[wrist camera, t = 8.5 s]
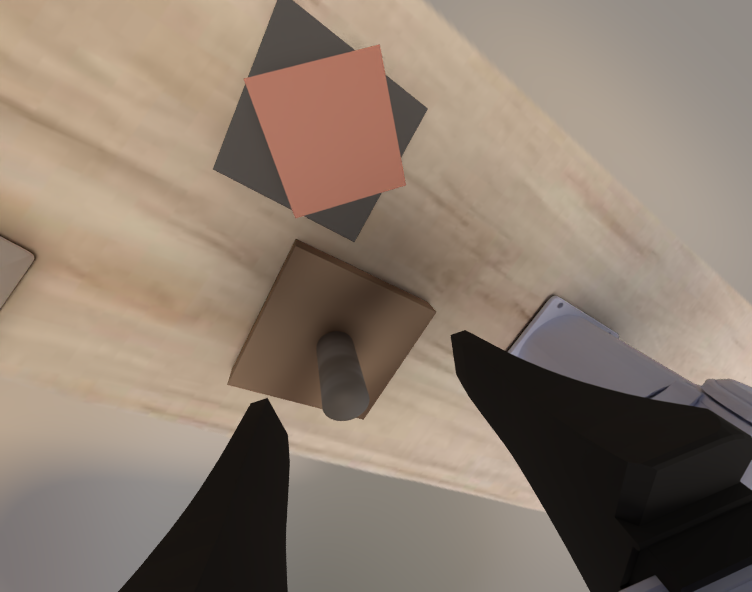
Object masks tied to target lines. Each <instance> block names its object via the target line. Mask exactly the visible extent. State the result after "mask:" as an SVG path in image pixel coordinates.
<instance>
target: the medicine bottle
mask: <svg viewBox="0 0 752 592" xmlns="http://www.w3.org/2000/svg"><path fill="white" fill-rule="evenodd" d="M33 261H34V256H33V254H32V253H31V252H29V251H27V250H25V249H24V248H22V247H20V246H18V245H16V244H14V243H12V242H10V241H8V240H6V239H5V238H3V237H1V236H0V308H1V307H2V305H3V304H4V303H5V301H6V300H7V298H8V297H9V295H10V294H11V292H12V291H13V290H14V288H15V287H16V285H17V284H18V282H19V281H20V279H21V278H22V277H23V275H24V274H25V272H26V271H27V269H28V268H29V266H30V265H31V264H32V262H33Z"/></svg>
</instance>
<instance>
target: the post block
mask: <svg viewBox="0 0 752 592" xmlns="http://www.w3.org/2000/svg"><path fill="white" fill-rule="evenodd" d="M435 313H436V311H435V310H434V309H433V307H432V306H431V305H430V304H429V303H428V302H426V301H424V300H422V299H420V298H418V297H416V296H414V295H412V294H410V293H408V292H406V291H404V290H401V289H399V288H397V287H395V286H393V285H391V284H389V283H387V282H385V281H383V280H381V279H378V278H376V277H374V276H372V275H370V274H368V273H366V272H364V271H362V270H360V269H358V268H356V267H353V266H351V265H349V264H347V263H345V262H343V261H341V260H339V259H337V258H335V257H333V256H330V255H328V254H326V253H324V252H322V251H320V250H318V249H316V248H314V247H312V246H310V245H308V244H305V243H303V242H301V241H299V240H297V239H296V240H295V242H294V244H293V246H292V248H291V250H290V252H289V254H288V256H287V258H286V260H285V262H284V264H283V266H282V268H281V270H280V272H279V274H278V276H277V278H276V280H275V282H274V285H273V287H272V289H271V291H270V293H269V295H268V297H267V299H266V301H265V303H264V305H263V307H262V309H261V311H260V313H259V315H258V317H257V319H256V321H255V323H254V325H253V327H252V329H251V331H250V333H249V335H248V338H247V340H246V342H245V344H244V346H243V348H242V350H241V352H240V354H239V356H238V358H237V360H236V362H235V364H234V366H233V368H232V371H231V374H230V377H229V381H228V384H227V385H231V386H234V387H238V388H242V389H246V390H250V391H254V392H258V393H262V394H266V395H270V396H273V397H277V398H281V399H285V400H289V401H293V402H297V403H301V404H305V405H309V406H313V407H316V408H320V409H323V412H324V413H325V415H326V416H328V417H329V418H331V419H333V420H337V421H347V420H351V419H354V418H359V419H363V420H364V418H365V417H366V415H367V414H368V412H369V411H370V409H371V408H372V406H373V405H374V403H375V402H376V400H377V399H378V398H379V396H380V395H381V393H382V392H383V390H384V389H385V387H386V386H387V384H388V383H389V381H390V380H391V378H392V377H393V375H394V374H395V372H396V371H397V369H398V368H399V367H400V365H401V364H402V362H403V361H404V359H405V358H406V356H407V355H408V353H409V352H410V350H411V349H412V347H413V346H414V344H415V343H416V341H417V340H418V338H419V337H420V336H421V334H422V333H423V331H424V330H425V328H426V327H427V325H428V324H429V322H430V321H431V319H432V318H433V316H434V315H435Z"/></svg>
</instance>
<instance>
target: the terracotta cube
mask: <svg viewBox="0 0 752 592" xmlns="http://www.w3.org/2000/svg"><path fill="white" fill-rule="evenodd" d="M244 81H245V84H246V87H247V89H248V92H249V95H250V97H251V100H252V103H253V105H254V108H255V111H256V114H257V116H258V119H259V122H260V124H261V127H262V130H263V132H264V135H265V138H266V141H267V143H268V146H269V149H270V151H271V154H272V157H273V159H274V162H275V165H276V168H277V170H278V173H279V176H280V178H281V181H282V184H283V186H284V189H285V192H286V195H287V197H288V200H289V203H290V205H291V208H292V211H293V213H294V216H295V218H298V217H302V216H305V215H308V214H312V213H315V212H318V211H322V210H325V209H328V208H332V207H335V206H338V205H342V204H345V203H348V202H352V201H355V200H358V199H362V198H365V197H368V196H372V195H375V194H378V193H382V192H385V191H388V190H392V189H395V188H398V187H402V186H405V185H406V183H405V177H404V172H403V167H402V161H401V156H400V151H399V145H398V140H397V135H396V129H395V124H394V119H393V113H392V108H391V102H390V97H389V92H388V86H387V81H386V76H385V70H384V65H383V60H382V54H381V49H380V44H379V45H375V46H371V47H367V48H364V49H360V50H356V51H352V52H348V53H344V54H340V55H336V56H332V57H328V58H324V59H320V60H316V61H312V62H308V63H304V64H300V65H296V66H292V67H288V68H284V69H280V70H276V71H272V72H268V73H264V74H260V75H256V76H252V77H248V78H244Z"/></svg>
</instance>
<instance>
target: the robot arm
mask: <svg viewBox="0 0 752 592" xmlns="http://www.w3.org/2000/svg"><path fill="white" fill-rule="evenodd" d="M558 304H559V305H558ZM618 338H619V334H618V333H616V332H614V331H613V330H611V329H610V328H608V327H606V326H605V325H603V324H602V323H600V322H598V321H597V320H595V319H594V318H592V317H590V316H589V315H587V314H586V313H584V312H582V311H581V310H579V309H578V308H576V307H574V306H573V305H571V304H570V303H568V302H566V301H565V300H563V299H562V298H560V297H558V296H552V297H551V298H550V299H549V300H548V301H547V302H546V304H545V305H544V306H543V307H542V309H541V310H540V311H539V313H538V314H537V315H536V316H535V318H534V319H533V320H532V321H531V323H530V324H529V325H528V327H527V328H526V329H525V330H524V332H523V333H522V334H521V335H520V337H519V338H518V339H517V340H516V342H515V343H514V344H513V346H512V347H511V348H510V349H509V351H508V352H506V351H504V350H502V349H500V348H498V347H496V346H494V345H492V344H490V343H489V342H487V341H485V340H483V339H481V338H479V337H477V336H475V335H474V334H472V333H470V332H468V331H466V330H464V331H461V332H458V333H455V334H453V335H451V341H452V348H453V355H454V362H455V369H456V375H457V377H458V378H459V380H460V382H461V384H462V386H463V387H464V389H465V391H466V392H467V394H468V396H469V397H470V399H471V400H472V402H473V403H474V404H475V406H476V407H477V408H478V410H479V411H480V412H481V414H482V415H483V416H484V418H485V419H486V420H487V422H488V423H489V424H490V426H491V427H492V428H493V430H494V431H495V432H496V434H497V435H498V436H499V438H500V439H501V440H502V442H503V443H504V444H505V446H506V447H507V449H508V450H509V452H510V453H511V455H512V456H513V458H514V459H515V461H516V462H517V464H518V466H519V467H520V469H521V471H522V472H523V474H524V475H525V477H526V479H527V480H528V482H529V484H530V485H531V487H532V489H533V490H534V492H535V494H536V495H537V497H538V499H539V500H540V502H541V504H542V506H543V507H544V509H545V511H546V512H547V514H548V516H549V518H550V519H551V521H552V523H553V525H554V526H555V528H556V530H557V532H558V533H559V535H560V537H561V539H562V541H563V542H564V544H565V546H566V548H567V549H568V551H569V553H570V555H571V557H572V559H573V561H574V562H575V564H576V566H577V568H578V570H579V572H580V573H581V575H582V577H583V579H584V581H585V583H586V584H587V586H588V588H589V590H590V592H752V387H750V386H748V385H745V384H743V383H740V382H738V381H735V380H732V379H718V380H715V379H707V380H706V381H705V383H704V384H703V385H702V386H700V385H697V384H694V383H692V382H690V381H689V380H687V379H685V378H684V377H682V376H680V375H679V374H677V373H675V372H674V371H672V370H670V369H668V368H667V367H665V366H663V365H662V364H660V363H658V362H657V361H655V360H653V359H652V358H650V357H648V356H647V355H645V354H643V353H641V352H640V351H638V350H636V349H635V348H633V347H631V346H630V345H628V344H626V343H625V342H623V341H621V340H620V339H618ZM289 467H290V459H289V444H288V434H287V432H286V430H285V429H284V427H283V425H282V423H281V422H280V420H279V418H278V416H277V414H276V413H275V411H274V409H273V407H272V405H271V404H270V402H269V400H268V398H266V399H263V400H260V401H257V402H254V403H251V404H250V406H249V408H248V409H247V411H246V413H245V415H244V416H243V418H242V420H241V422H240V423H239V425H238V427H237V429H236V431H235V432H234V434H233V436H232V438H231V439H230V441H229V443H228V445H227V446H226V448H225V450H224V451H223V453H222V455H221V456H220V458H219V460H218V461H217V463H216V465H215V466H214V468H213V470H212V471H211V472H210V474H209V476H208V477H207V479H206V481H205V482H204V483H203V485H202V487H201V488H200V490H199V491H198V492H197V494H196V495H195V497H194V498H193V500H192V501H191V503H190V504H189V505H188V507H187V508H186V509H185V511H184V512H183V513H182V515H181V516H180V517H179V519H178V520H177V522H176V523H175V524H174V526H173V527H172V528H171V529H170V531H169V532H168V533H167V535H166V536H165V537H164V538H163V539H162V541H161V542H160V543H159V544H158V545H157V547H156V548H155V549H154V550H153V552H152V553H151V554H150V555H149V556H148V558H147V559H146V560H145V561H144V563H143V564H142V565H141V566H140V567H139V569H138V570H137V571H136V572H135V573H134V574H133V576H132V577H131V578H130V579H129V580H128V581H127V582H126V584H125V585H124V586H123V587H122V588H121V589H120V590H119V591H118V592H288V590H287V568H286V567H287V566H286V522H287V505H288V487H289Z"/></svg>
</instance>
